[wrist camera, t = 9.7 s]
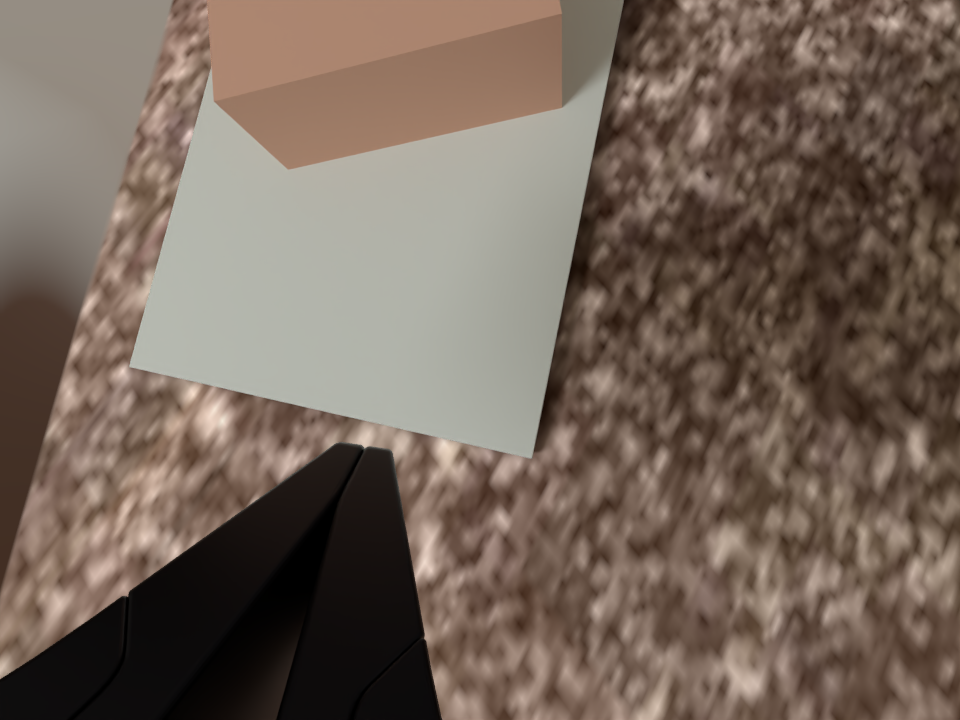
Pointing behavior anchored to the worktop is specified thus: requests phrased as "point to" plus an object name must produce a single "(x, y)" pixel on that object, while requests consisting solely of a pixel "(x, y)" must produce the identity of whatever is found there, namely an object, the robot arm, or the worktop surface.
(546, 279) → the rubber mat
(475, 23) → the terracotta slab
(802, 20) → the worktop surface
